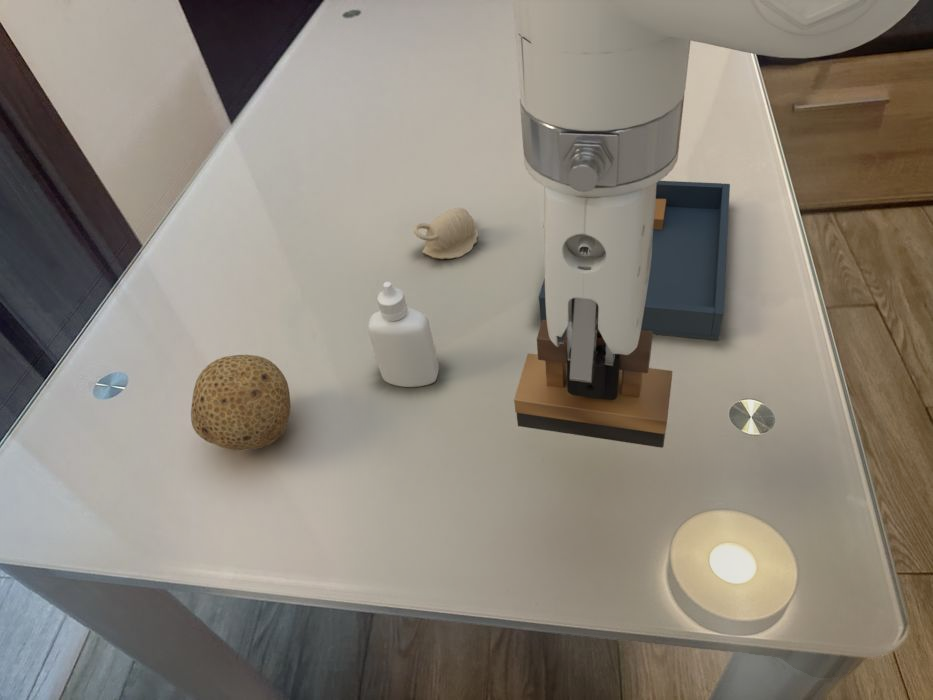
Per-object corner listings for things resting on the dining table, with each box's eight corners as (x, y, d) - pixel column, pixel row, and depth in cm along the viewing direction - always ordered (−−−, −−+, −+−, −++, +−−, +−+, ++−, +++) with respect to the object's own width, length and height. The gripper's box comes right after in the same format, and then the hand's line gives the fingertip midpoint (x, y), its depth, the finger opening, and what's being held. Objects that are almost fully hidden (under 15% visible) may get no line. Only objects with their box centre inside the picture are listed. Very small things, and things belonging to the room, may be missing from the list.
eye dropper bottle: (404, 351, 73) (380, 260, 65) (446, 371, 71) (427, 280, 62) (376, 378, 71) (347, 288, 63) (419, 400, 68) (394, 310, 60)
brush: (668, 400, 50) (679, 319, 44) (663, 450, 47) (674, 370, 42) (530, 382, 53) (523, 303, 47) (516, 428, 50) (508, 350, 44)
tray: (725, 209, 83) (730, 183, 80) (718, 340, 69) (723, 313, 66) (575, 201, 88) (574, 176, 85) (540, 322, 74) (538, 297, 71)
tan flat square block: (665, 209, 83) (666, 198, 82) (662, 230, 81) (663, 219, 80) (630, 207, 84) (631, 197, 83) (626, 228, 82) (627, 217, 81)
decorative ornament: (487, 243, 84) (483, 205, 80) (427, 273, 82) (419, 236, 78) (469, 228, 87) (464, 190, 83) (410, 256, 84) (402, 219, 80)
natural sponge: (212, 488, 64) (165, 420, 57) (214, 415, 70) (172, 345, 63) (311, 462, 65) (276, 391, 58) (304, 391, 71) (272, 320, 64)
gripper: (666, 233, 28) (640, 488, 41) (691, 54, 38) (664, 305, 51) (483, 220, 30) (514, 468, 43) (553, 54, 40) (561, 295, 53)
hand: (595, 378), depth 47 cm, fingers closed on brush, 2 cm apart
